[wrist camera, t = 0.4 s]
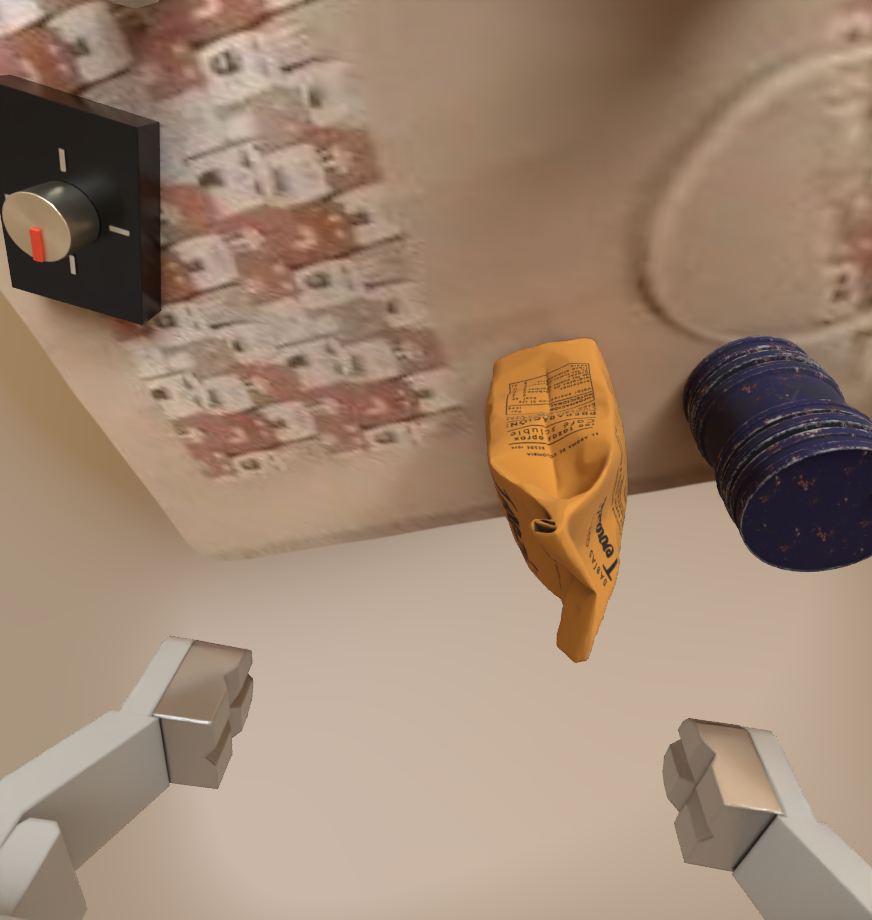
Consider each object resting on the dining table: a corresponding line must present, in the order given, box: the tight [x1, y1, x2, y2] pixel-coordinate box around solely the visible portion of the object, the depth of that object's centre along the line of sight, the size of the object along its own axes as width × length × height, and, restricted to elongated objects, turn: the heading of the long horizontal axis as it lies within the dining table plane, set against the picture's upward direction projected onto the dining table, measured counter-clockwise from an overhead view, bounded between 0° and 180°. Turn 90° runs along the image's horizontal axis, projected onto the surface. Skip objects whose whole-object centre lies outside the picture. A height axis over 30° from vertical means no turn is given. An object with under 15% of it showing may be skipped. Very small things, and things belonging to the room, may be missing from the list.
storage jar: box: [683, 336, 872, 572], centre depth 41 cm, size 10×10×15 cm
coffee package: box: [485, 338, 628, 663], centre depth 41 cm, size 10×12×22 cm
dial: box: [2, 181, 100, 262], centre depth 40 cm, size 4×4×4 cm
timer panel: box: [0, 75, 161, 325], centre depth 42 cm, size 14×10×3 cm
